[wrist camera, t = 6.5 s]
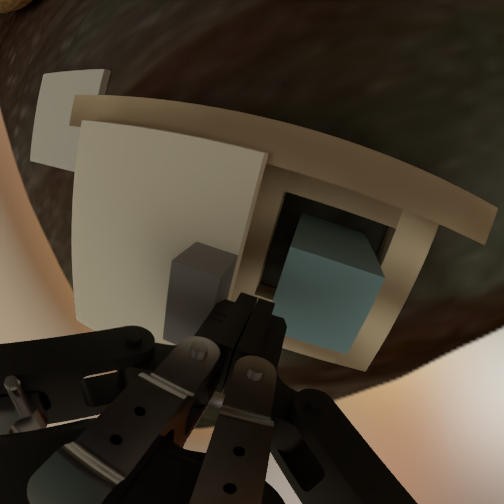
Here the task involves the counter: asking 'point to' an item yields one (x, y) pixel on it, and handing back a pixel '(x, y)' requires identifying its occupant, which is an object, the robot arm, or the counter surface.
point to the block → (327, 284)
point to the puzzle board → (319, 199)
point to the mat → (62, 115)
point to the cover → (158, 226)
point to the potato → (12, 5)
